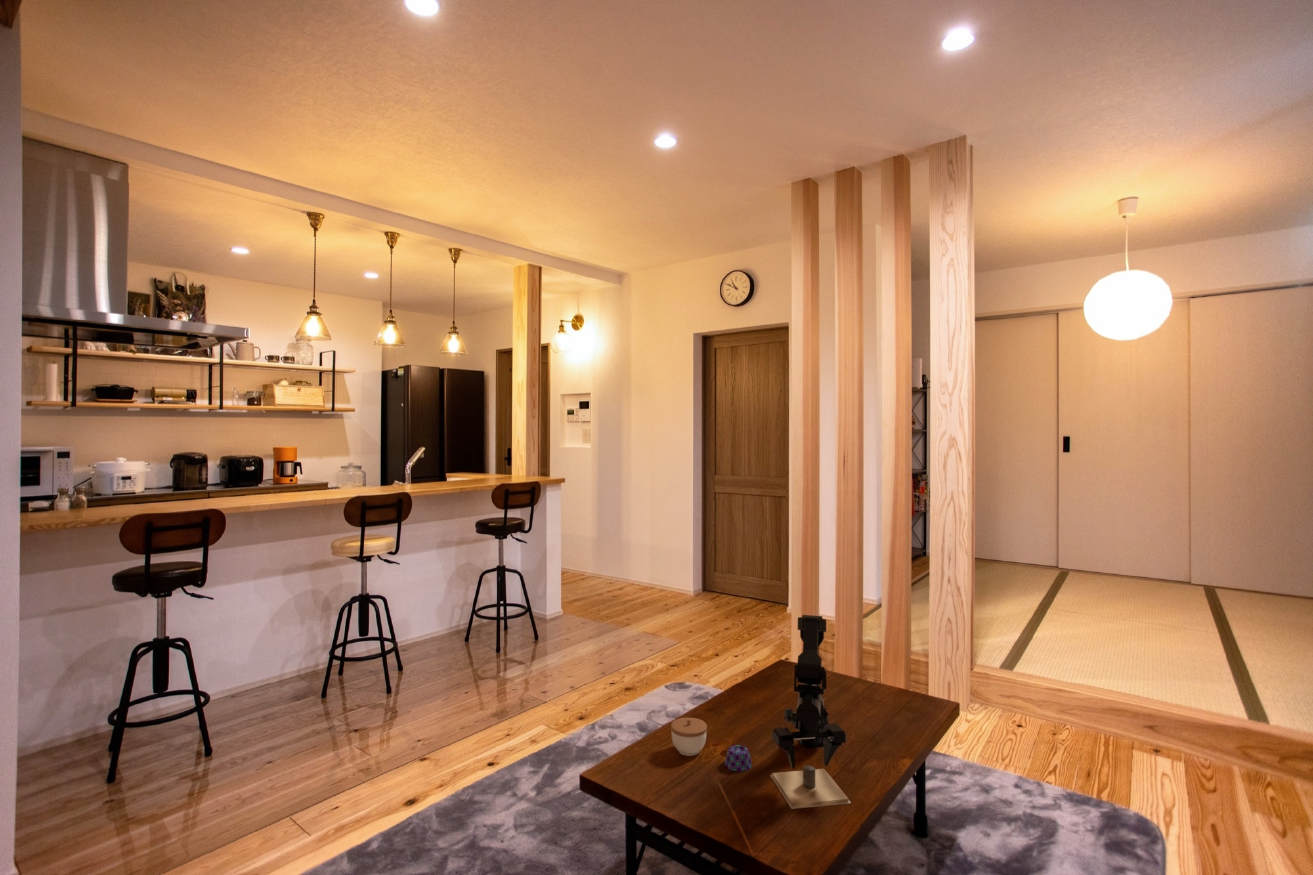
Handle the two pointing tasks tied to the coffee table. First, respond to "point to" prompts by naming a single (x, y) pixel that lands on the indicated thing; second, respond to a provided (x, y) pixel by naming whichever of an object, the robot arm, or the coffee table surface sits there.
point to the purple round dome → (738, 758)
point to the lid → (809, 787)
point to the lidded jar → (688, 735)
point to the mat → (803, 806)
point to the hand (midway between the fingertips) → (809, 767)
